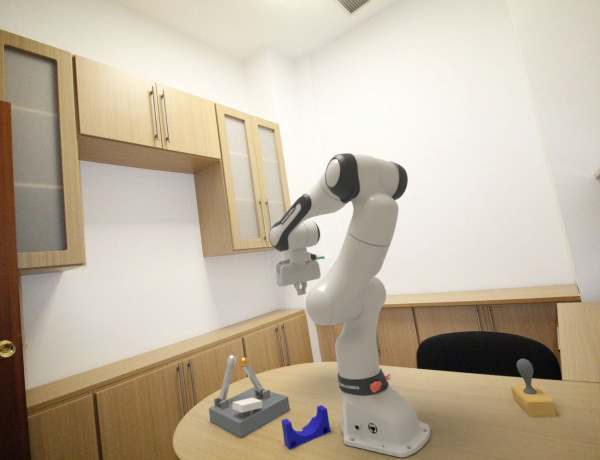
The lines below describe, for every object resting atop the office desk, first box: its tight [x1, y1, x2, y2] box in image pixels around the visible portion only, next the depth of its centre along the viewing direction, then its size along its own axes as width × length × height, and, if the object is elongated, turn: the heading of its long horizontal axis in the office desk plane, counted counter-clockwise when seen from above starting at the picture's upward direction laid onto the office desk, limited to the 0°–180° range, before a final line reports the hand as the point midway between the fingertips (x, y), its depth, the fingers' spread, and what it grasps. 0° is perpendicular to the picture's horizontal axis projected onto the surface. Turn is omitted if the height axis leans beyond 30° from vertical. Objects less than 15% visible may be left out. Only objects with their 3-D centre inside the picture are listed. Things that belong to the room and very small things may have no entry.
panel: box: [208, 386, 291, 439], centre depth 100 cm, size 18×18×6 cm
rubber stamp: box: [510, 358, 557, 418], centre depth 81 cm, size 10×6×12 cm, turn 166°
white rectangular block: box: [232, 398, 262, 413], centre depth 93 cm, size 5×7×2 cm
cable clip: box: [281, 404, 331, 450], centre depth 83 cm, size 12×4×6 cm, turn 115°
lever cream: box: [217, 354, 237, 406], centre depth 103 cm, size 3×3×15 cm
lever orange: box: [238, 356, 264, 396], centre depth 101 cm, size 3×3×15 cm
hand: (302, 294), depth 119 cm, fingers closed
